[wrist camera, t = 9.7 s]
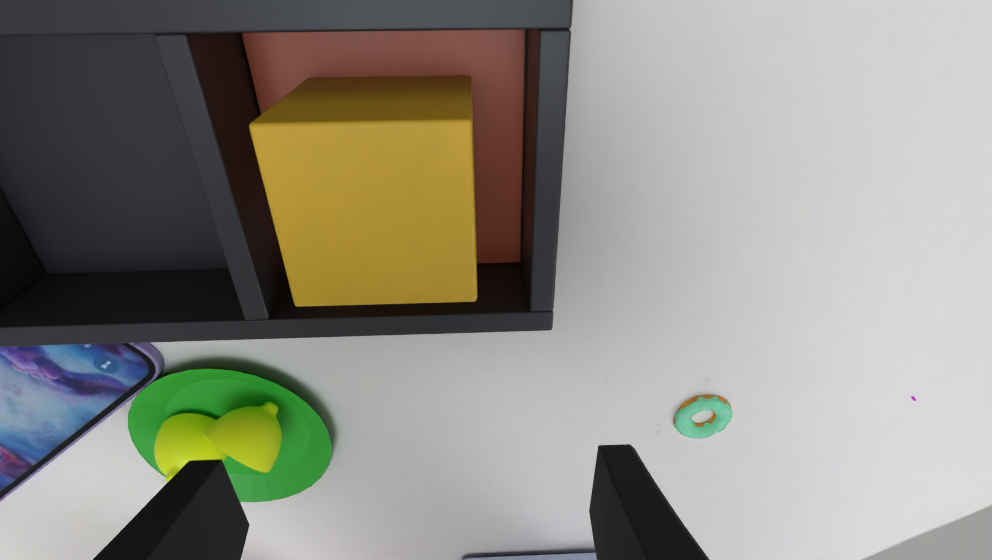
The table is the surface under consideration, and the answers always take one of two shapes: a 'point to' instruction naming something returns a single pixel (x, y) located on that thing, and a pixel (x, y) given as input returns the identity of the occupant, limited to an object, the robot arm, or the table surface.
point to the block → (373, 189)
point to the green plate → (231, 431)
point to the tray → (249, 161)
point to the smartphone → (62, 398)
